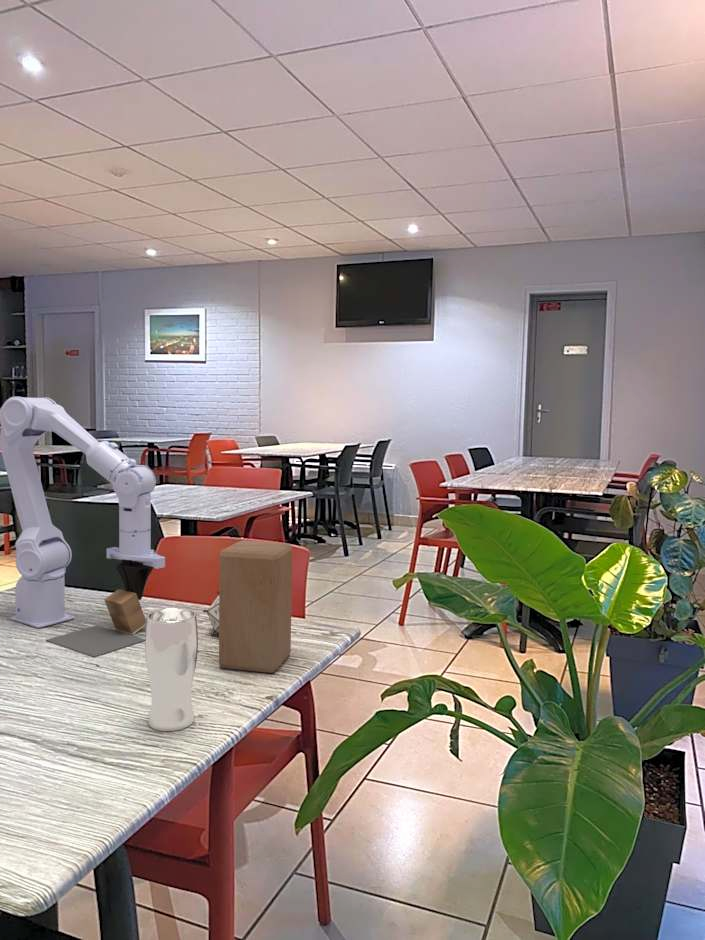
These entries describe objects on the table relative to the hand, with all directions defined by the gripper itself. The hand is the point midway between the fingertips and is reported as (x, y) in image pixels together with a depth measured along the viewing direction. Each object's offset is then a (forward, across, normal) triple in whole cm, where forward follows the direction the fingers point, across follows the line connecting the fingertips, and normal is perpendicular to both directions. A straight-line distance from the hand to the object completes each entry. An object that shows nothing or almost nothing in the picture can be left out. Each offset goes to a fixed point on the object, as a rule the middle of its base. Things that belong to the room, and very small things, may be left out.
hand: (135, 599), depth 134 cm
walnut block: (+5, 0, +1) cm, 5 cm away
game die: (+6, -16, -9) cm, 19 cm away
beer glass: (+6, -36, +23) cm, 43 cm away
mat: (+6, 0, +9) cm, 10 cm away
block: (+6, -30, -1) cm, 31 cm away
